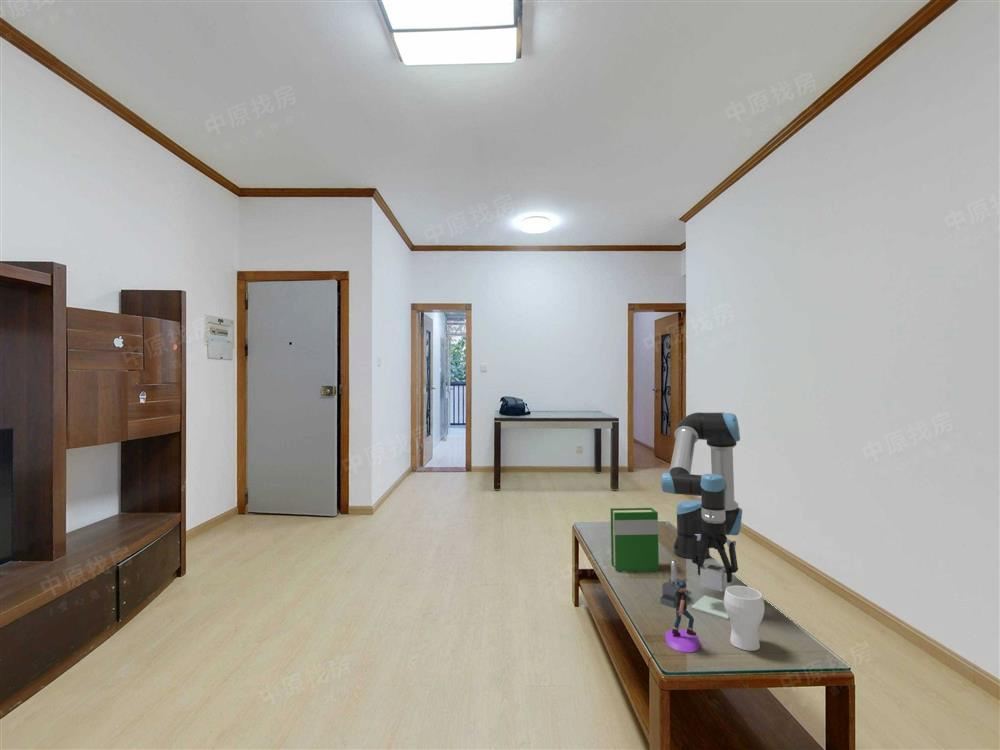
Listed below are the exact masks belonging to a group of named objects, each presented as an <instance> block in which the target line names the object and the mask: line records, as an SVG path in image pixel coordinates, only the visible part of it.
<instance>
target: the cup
mask: <svg viewBox="0 0 1000 750" xmlns="http://www.w3.org/2000/svg"><path fill="white" fill-rule="evenodd" d="M723 601H724V606H725V609H726V612H727V615H728V617H729V621H730V625H731V632H730V639H729V640H730V643H731V645H732V646H734V647H736V648H737V649H740V650H744V651H749V652H753V651H757V650H759V649H760V647H761V646H760V639H759V634H758V631H759V626H760V625H761V622H762V621H763V619H764V615H765V601H764V598H763V595H762V593H761V592H760V591H758V590H757V589H755V588H752V587H749V586H744V585H731V586H730V585H729V587H727V588H726V591H725V593H724V596H723Z"/></svg>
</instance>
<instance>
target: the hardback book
mask: <svg viewBox="0 0 1000 750" xmlns="http://www.w3.org/2000/svg"><path fill="white" fill-rule="evenodd" d="M658 517H659V514H658V511H657V510H655V509H654V508H653V507H617V508H616V507H614V508H613V507H612V508H610V550H611V551H610V552H611V553H610V555H611V564H612V565H614V566H613V567H614V571H647V572H659V571H660V568H659V567H660V566H659V565H660V561H659V560H660V559H659V520H658V519H659V518H658ZM612 565H611V566H612Z"/></svg>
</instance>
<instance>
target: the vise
mask: <svg viewBox="0 0 1000 750" xmlns="http://www.w3.org/2000/svg"><path fill="white" fill-rule="evenodd" d="M677 562H678V561H677V560H673V559H672V560H670V579H668V581H665V582H663V583H662V584H661V585H662V595H661V596H660V598H659V600H660V601H659V602H660V603H659V604H662V605H664V606H668V607H671V608H676V606H675V604H676V601H677V599H676V597H675V593H676V592H677V590H679V589H676V588H675V586H676V585H678V584H679V583H680V582H684V583H685V584H686V585H687V581H688V579H687V578H683V579H680V578H678V563H677ZM684 593H685V594H686V595H687V598H688V597H689V590H688V589H686V590H685V591H684Z"/></svg>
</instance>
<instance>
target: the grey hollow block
mask: <svg viewBox="0 0 1000 750" xmlns="http://www.w3.org/2000/svg"><path fill="white" fill-rule="evenodd" d="M703 565H704V566H702V567H701V568H700V575H699V576H700V578H699V579H700V586H701V587H702V586H703V588H706V589H707V588H708V589H710V590H714V591H718V592H721V593H722V592H723V591H724V572H726V570H725V567H724V565H720V564H716V563H711V562H707V563H704V564H703Z"/></svg>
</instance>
